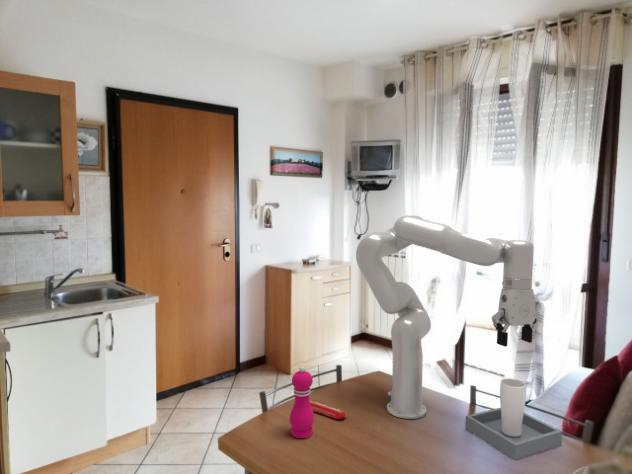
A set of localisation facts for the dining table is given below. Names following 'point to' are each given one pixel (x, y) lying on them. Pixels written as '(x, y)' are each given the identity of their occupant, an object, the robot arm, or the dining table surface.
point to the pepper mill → (302, 405)
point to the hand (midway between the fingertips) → (514, 343)
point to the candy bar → (327, 410)
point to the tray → (530, 442)
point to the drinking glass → (512, 406)
